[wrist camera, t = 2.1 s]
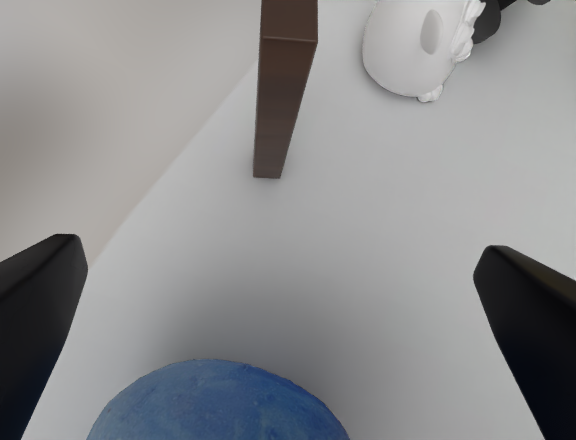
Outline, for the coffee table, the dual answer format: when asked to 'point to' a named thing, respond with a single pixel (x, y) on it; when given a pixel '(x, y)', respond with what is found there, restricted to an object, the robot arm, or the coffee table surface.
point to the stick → (281, 78)
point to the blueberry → (215, 406)
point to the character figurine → (492, 18)
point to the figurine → (418, 43)
